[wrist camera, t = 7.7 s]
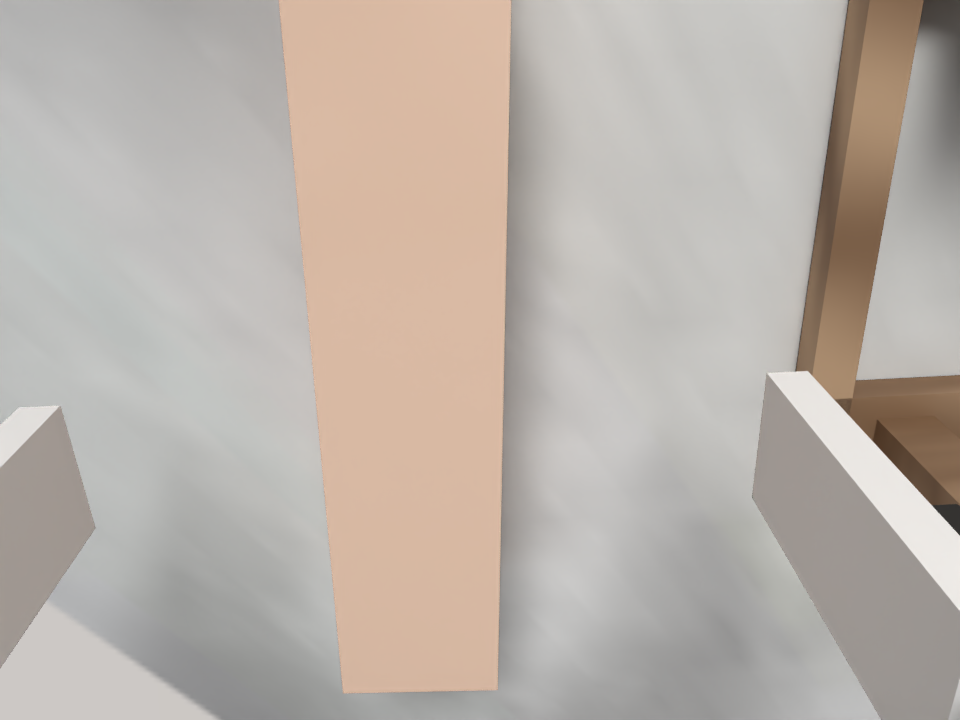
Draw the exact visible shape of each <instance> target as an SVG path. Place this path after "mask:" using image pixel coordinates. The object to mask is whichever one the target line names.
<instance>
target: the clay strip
mask: <svg viewBox="0 0 960 720" xmlns="http://www.w3.org/2000/svg"><path fill="white" fill-rule="evenodd" d="M279 9H280V19H281V30H282V41H283V52H284V63H285V73H286V84H287V95H288V106H289V116H290V127H291V138H292V149H293V159H294V170H295V181H296V192H297V203H298V213H299V224H300V235H301V246H302V256H303V267H304V278H305V289H306V299H307V310H308V321H309V332H310V343H311V353H312V364H313V375H314V386H315V396H316V407H317V418H318V429H319V440H320V450H321V461H322V472H323V483H324V493H325V504H326V515H327V526H328V536H329V547H330V558H331V569H332V580H333V590H334V601H335V612H336V623H337V633H338V644H339V655H340V666H341V677H342V687H343V693H385V692H431V691H477V690H498V645H499V594H500V544H501V493H502V443H503V392H504V342H505V291H506V241H507V190H508V139H509V89H510V38H511V0H279Z"/></svg>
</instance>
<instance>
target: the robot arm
mask: <svg viewBox="0 0 960 720" xmlns="http://www.w3.org/2000/svg"><path fill="white" fill-rule="evenodd" d="M752 498H753V500H754V502H755V503H756V505H757V507H758V508H759V510H760V512H761V514H762V515H763V517H764V519H765V521H766V522H767V524H768V526H769V527H770V529H771V531H772V533H773V534H774V536H775V538H776V539H777V541H778V543H779V545H780V546H781V548H782V550H783V551H784V553H785V555H786V557H787V558H788V560H789V562H790V564H791V565H792V567H793V569H794V570H795V572H796V574H797V576H798V577H799V579H800V581H801V582H802V584H803V586H804V588H805V589H806V591H807V593H808V594H809V596H810V598H811V600H812V601H813V603H814V605H815V607H816V608H817V610H818V612H819V613H820V615H821V617H822V619H823V620H824V622H825V624H826V625H827V627H828V629H829V631H830V632H831V634H832V636H833V637H834V639H835V641H836V643H837V644H838V646H839V648H840V650H841V651H842V653H843V655H844V656H845V658H846V660H847V662H848V663H849V665H850V667H851V668H852V670H853V672H854V674H855V675H856V677H857V679H858V681H859V682H860V684H861V686H862V687H863V689H864V691H865V693H866V694H867V696H868V698H869V699H870V701H871V703H872V705H873V706H874V708H875V710H876V711H877V713H878V715H879V717H880V718H881V720H960V506H959V505H958V504H946V505H931V504H930V503H929V502H928V501H927V500H926V499H925V498H924V496H923V495H922V494H921V493H920V492H919V491H918V490H917V489H916V488H915V487H914V486H913V485H912V483H911V482H910V481H909V480H908V479H907V478H906V477H905V476H904V475H903V474H902V473H901V472H900V470H899V469H898V468H897V467H896V466H895V465H894V464H893V463H892V462H891V461H890V460H889V459H888V457H887V456H886V455H885V454H884V453H883V452H882V451H881V450H880V449H879V448H878V447H877V446H876V444H875V443H874V442H873V441H872V440H871V439H870V438H869V437H868V436H867V435H866V434H865V433H864V431H863V430H862V429H861V428H860V427H859V426H858V425H857V424H856V423H855V422H854V421H853V420H852V418H851V417H850V416H849V415H848V414H847V413H846V412H845V411H844V410H843V409H842V408H841V406H840V405H839V404H838V403H837V402H836V401H835V400H834V399H833V398H832V397H831V396H830V395H829V393H828V392H827V391H826V390H825V389H824V388H823V387H822V386H821V385H820V384H819V383H818V382H817V380H816V379H815V378H814V377H813V376H812V375H811V374H810V373H809V372H808V371H797V372H776V373H767V375H766V383H765V392H764V400H763V409H762V417H761V425H760V434H759V442H758V451H757V459H756V467H755V476H754V484H753V493H752ZM94 530H95V524H94V521H93V518H92V514H91V511H90V507H89V504H88V500H87V497H86V493H85V490H84V486H83V483H82V479H81V476H80V472H79V469H78V465H77V462H76V458H75V455H74V451H73V448H72V445H71V441H70V438H69V434H68V431H67V427H66V424H65V420H64V417H63V413H62V410H61V406H40V407H19V408H18V409H17V410H16V411H15V412H14V413H12V414H11V415H10V416H9V417H8V418H7V419H6V420H5V421H4V422H3V423H2V424H1V425H0V668H1V666H2V665H3V664H4V662H5V661H6V659H7V658H8V656H9V655H10V653H11V652H12V650H13V649H14V647H15V646H16V645H17V643H18V642H19V640H20V639H21V637H22V635H23V634H24V633H25V631H26V630H27V628H28V627H29V625H30V624H31V622H32V621H33V619H34V618H35V616H36V615H37V614H38V612H39V611H40V609H41V608H42V606H43V605H44V603H45V602H46V600H47V599H48V597H49V596H50V594H51V593H52V591H53V590H54V589H55V587H56V586H57V584H58V583H59V581H60V580H61V578H62V577H63V575H64V574H65V572H66V571H67V569H68V568H69V566H70V565H71V563H72V562H73V561H74V559H75V558H76V556H77V555H78V553H79V552H80V550H81V549H82V547H83V546H84V544H85V543H86V541H87V540H88V538H89V537H90V536H91V534H92V533H93V531H94Z"/></svg>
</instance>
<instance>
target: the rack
mask: <svg viewBox="0 0 960 720" xmlns="http://www.w3.org/2000/svg"><path fill="white" fill-rule="evenodd" d="M923 2H924V0H849V4H848V11H847V18H846V25H845V32H844V39H843V46H842V53H841V60H840V67H839V74H838V81H837V88H836V95H835V102H834V109H833V116H832V123H831V130H830V137H829V144H828V151H827V158H826V165H825V172H824V179H823V186H822V193H821V200H820V207H819V214H818V221H817V228H816V235H815V242H814V249H813V256H812V263H811V270H810V277H809V284H808V291H807V298H806V305H805V312H804V319H803V325H802V332H801V339H800V346H799V353H798V360H797V367H796V372H797V371H808V372H809V373H810V374H811V375H812V376H813V377H814V378H815V379H816V380H817V382H818V383H819V384H820V385H821V386H822V387H823V388H824V389H825V390H826V391H827V392H828V393H829V395H830V396H831V397H832V398H833V399H834V400H835V401H836V402H837V403H838V404H839V405H840V406H841V408H842V409H843V410H844V411H845V412H846V413H847V414H848V415H849V416H850V417H851V418H852V420H853V421H854V422H855V423H856V424H857V425H858V426H859V427H860V428H861V429H862V430H863V431H864V433H865V434H866V435H867V436H868V437H869V438H870V439H871V440H872V441H873V442H874V443H875V444H876V446H877V447H878V448H879V449H880V450H881V451H882V452H883V453H884V454H885V455H886V456H887V457H888V459H889V460H890V461H891V462H892V463H893V464H894V465H895V466H896V467H897V468H898V469H899V470H900V472H901V473H902V474H903V475H904V476H905V477H906V478H907V479H908V480H909V481H910V482H911V483H912V485H913V486H914V487H915V488H916V489H917V490H918V491H919V492H920V493H921V494H922V495H923V496H924V498H925V499H926V500H927V501H928V502H929V503H930V504H931V505H946V504H958V505H959V506H960V375H955V376H936V377H916V378H897V379H877V380H858V381H856V375H857V369H858V364H859V358H860V353H861V347H862V342H863V336H864V330H865V325H866V319H867V314H868V308H869V303H870V297H871V291H872V286H873V280H874V275H875V269H876V264H877V258H878V252H879V247H880V241H881V236H882V230H883V225H884V219H885V213H886V208H887V202H888V197H889V191H890V186H891V180H892V174H893V169H894V163H895V158H896V152H897V147H898V141H899V135H900V130H901V124H902V119H903V113H904V108H905V102H906V96H907V91H908V85H909V80H910V74H911V69H912V63H913V57H914V52H915V46H916V41H917V35H918V30H919V24H920V18H921V13H922V7H923Z"/></svg>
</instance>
